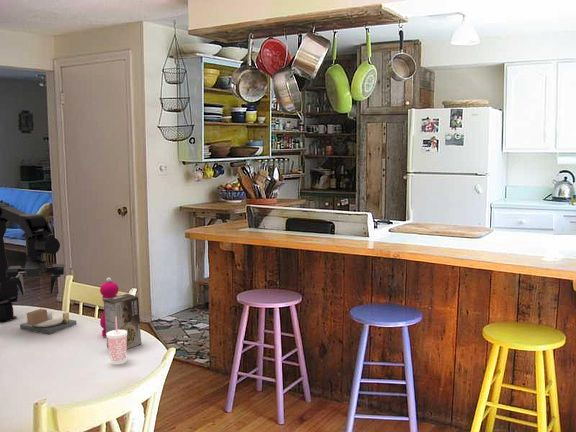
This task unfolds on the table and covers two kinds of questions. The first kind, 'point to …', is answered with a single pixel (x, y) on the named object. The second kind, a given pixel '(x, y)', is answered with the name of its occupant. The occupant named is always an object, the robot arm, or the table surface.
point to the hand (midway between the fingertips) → (37, 294)
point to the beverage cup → (117, 345)
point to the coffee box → (124, 317)
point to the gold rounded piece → (65, 318)
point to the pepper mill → (108, 292)
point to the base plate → (48, 329)
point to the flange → (43, 318)
